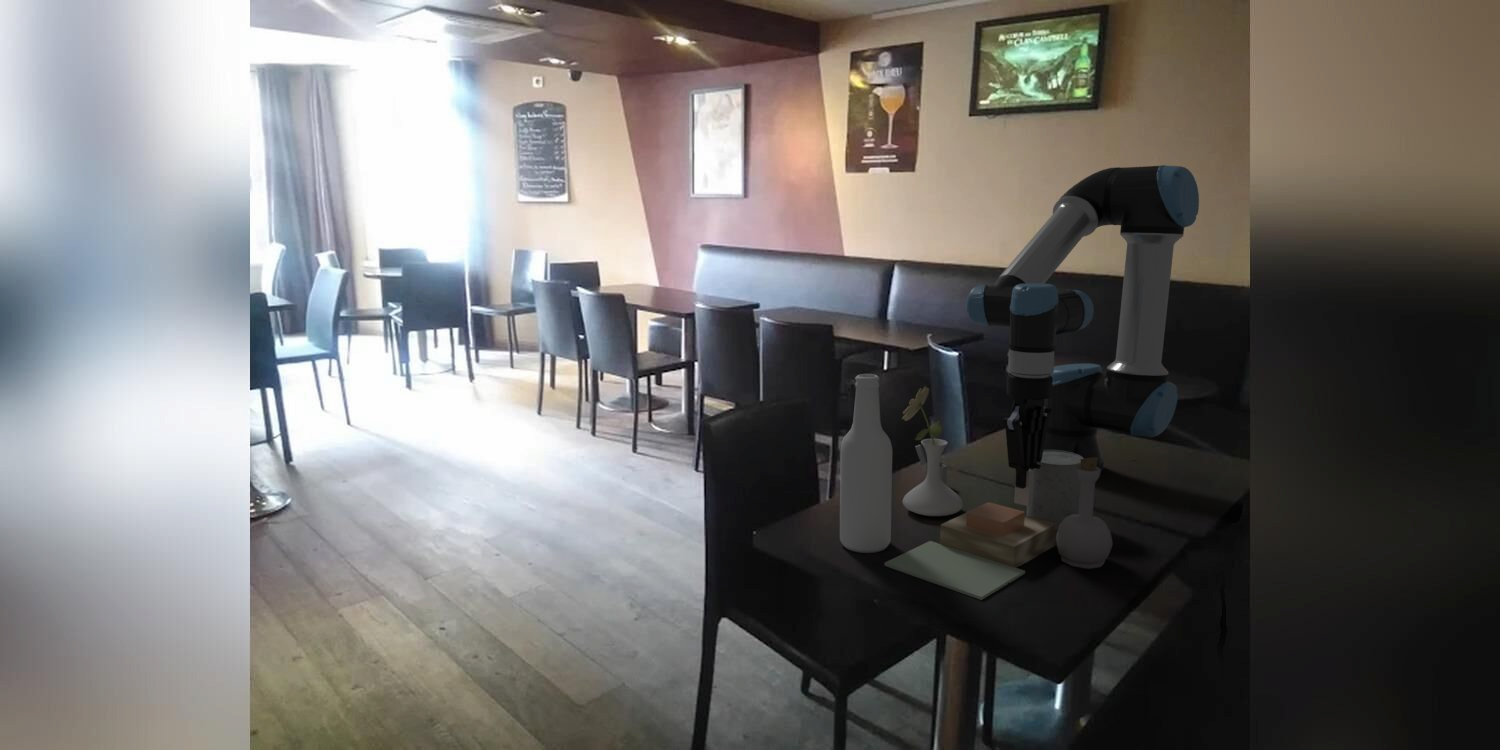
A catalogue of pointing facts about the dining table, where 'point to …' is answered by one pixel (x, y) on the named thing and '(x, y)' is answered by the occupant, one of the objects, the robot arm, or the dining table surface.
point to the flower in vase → (930, 470)
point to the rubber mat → (955, 569)
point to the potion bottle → (1084, 525)
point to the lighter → (923, 460)
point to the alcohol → (866, 474)
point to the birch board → (1000, 540)
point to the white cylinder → (1056, 487)
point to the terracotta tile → (995, 519)
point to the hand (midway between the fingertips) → (1023, 503)
